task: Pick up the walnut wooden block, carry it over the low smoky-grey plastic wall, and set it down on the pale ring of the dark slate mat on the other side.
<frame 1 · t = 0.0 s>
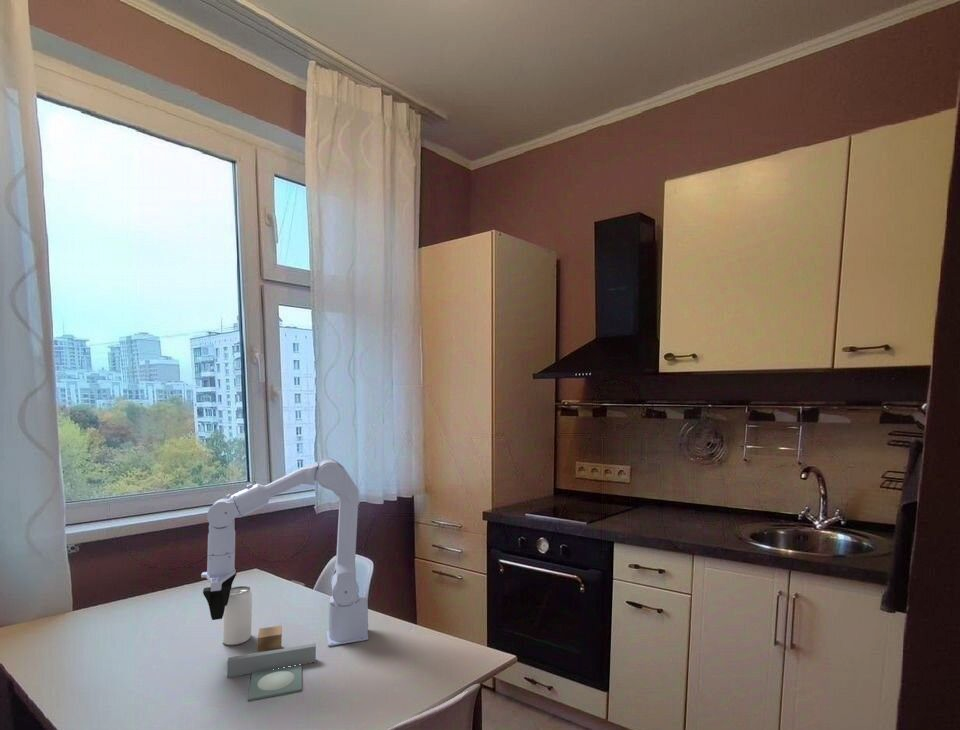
hand: (219, 612, 117), 10 cm above the table, tool pointing down, fingers open, 7 cm apart
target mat: (276, 682, 106), on the table
low wall: (272, 668, 111), on the table
can: (236, 640, 125), on the table
walnut block: (269, 653, 118), on the table
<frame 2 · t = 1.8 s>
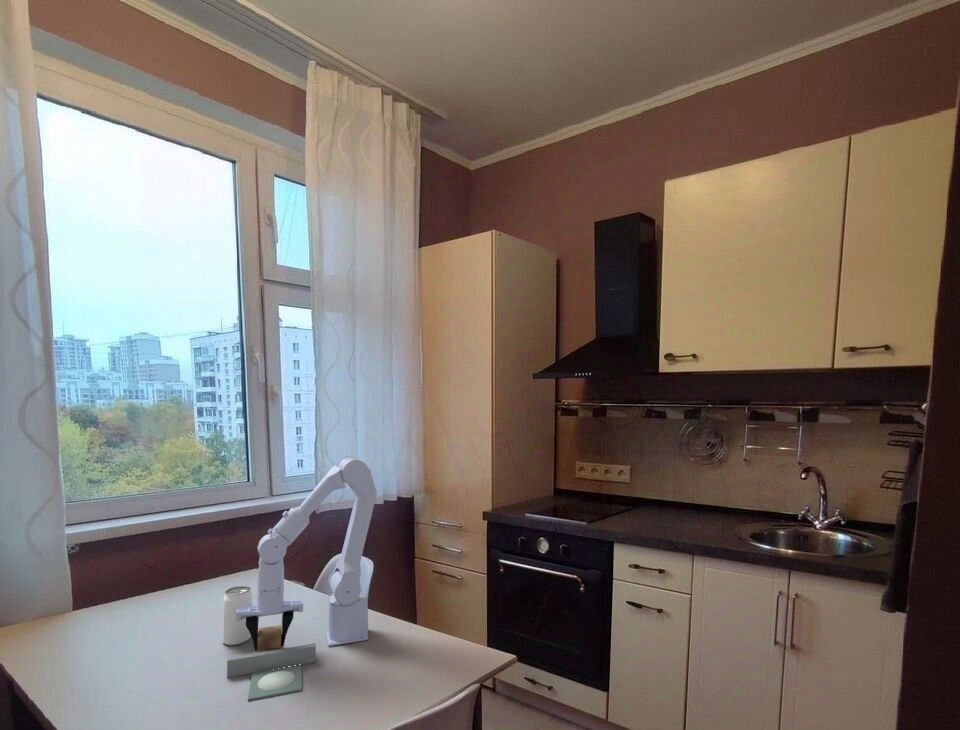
hand: (269, 646, 118), 1 cm above the table, tool pointing down, fingers closed on walnut block, 5 cm apart
walnut block: (269, 653, 118), on the table, touching gripper
everything else where it was.
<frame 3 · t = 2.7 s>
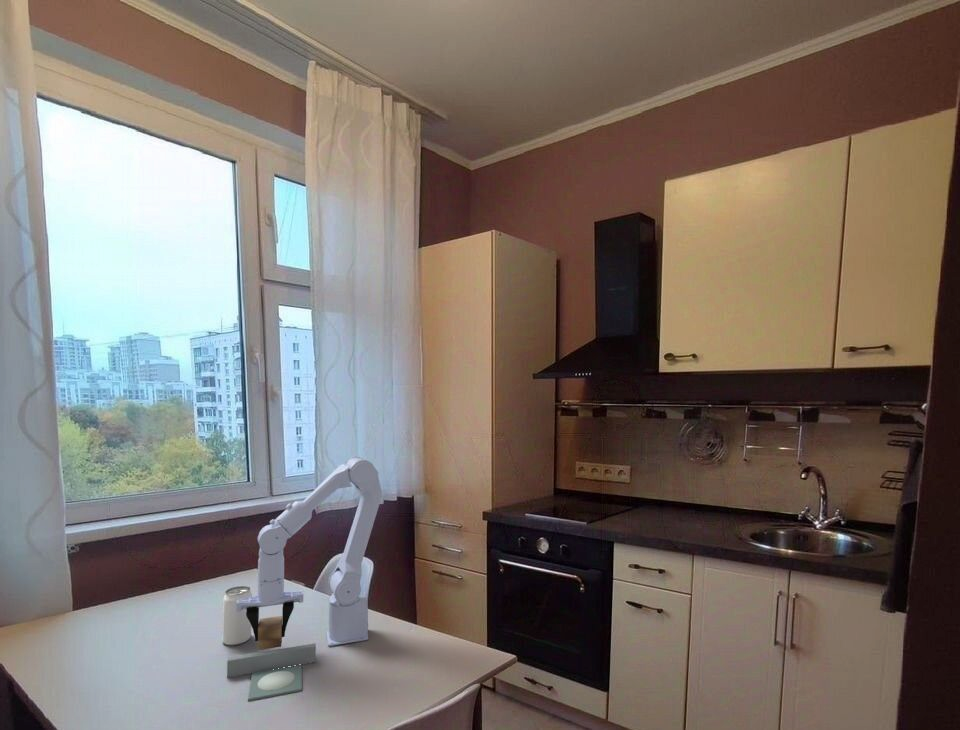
hand: (270, 637, 118), 4 cm above the table, tool pointing down, fingers closed on walnut block, 5 cm apart
walnut block: (270, 643, 118), point 2 cm above the table, touching gripper
everything else where it was.
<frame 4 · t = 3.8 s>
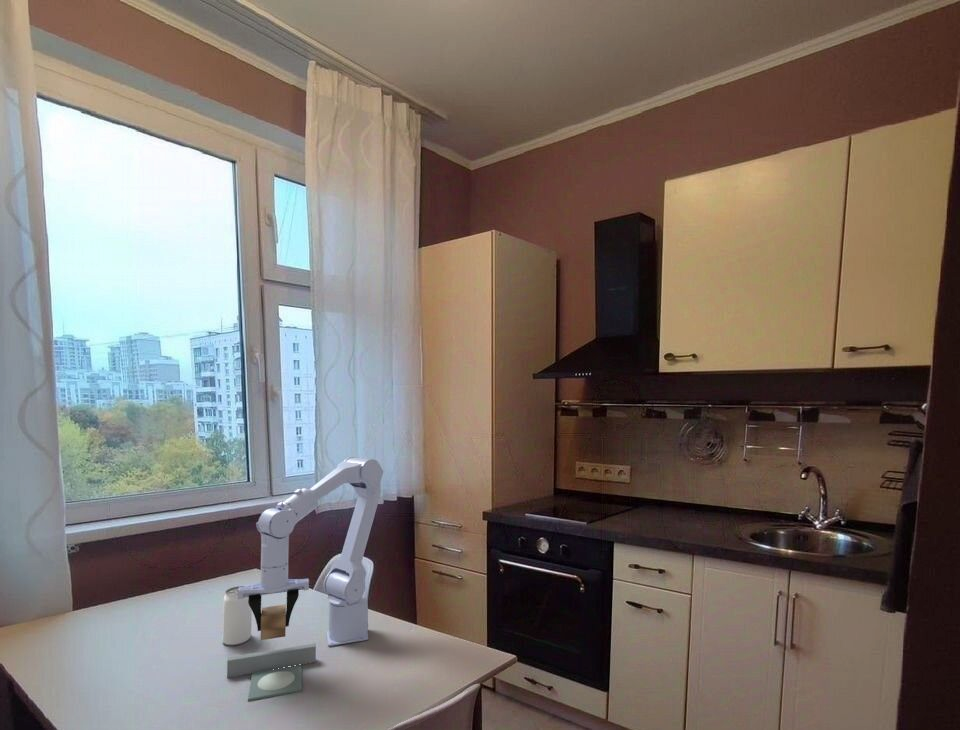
hand: (273, 626, 112), 9 cm above the table, tool pointing down, fingers closed on walnut block, 5 cm apart
walnut block: (273, 633, 112), point 7 cm above the table, touching gripper
everything else where it was.
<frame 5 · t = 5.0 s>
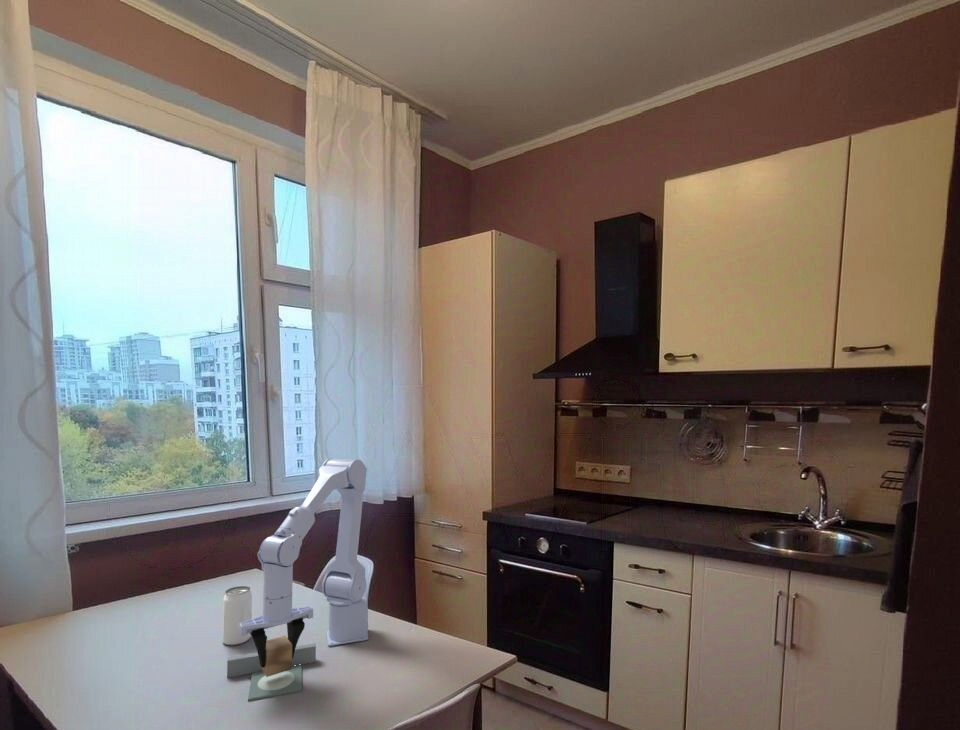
hand: (276, 661, 106), 4 cm above the table, tool pointing down, fingers closed on walnut block, 5 cm apart
walnut block: (276, 668, 106), point 3 cm above the table, touching gripper
everything else where it was.
when the fingers open (3 cm above the table, at t = 5.7 s): walnut block drops 1 cm, resting on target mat.
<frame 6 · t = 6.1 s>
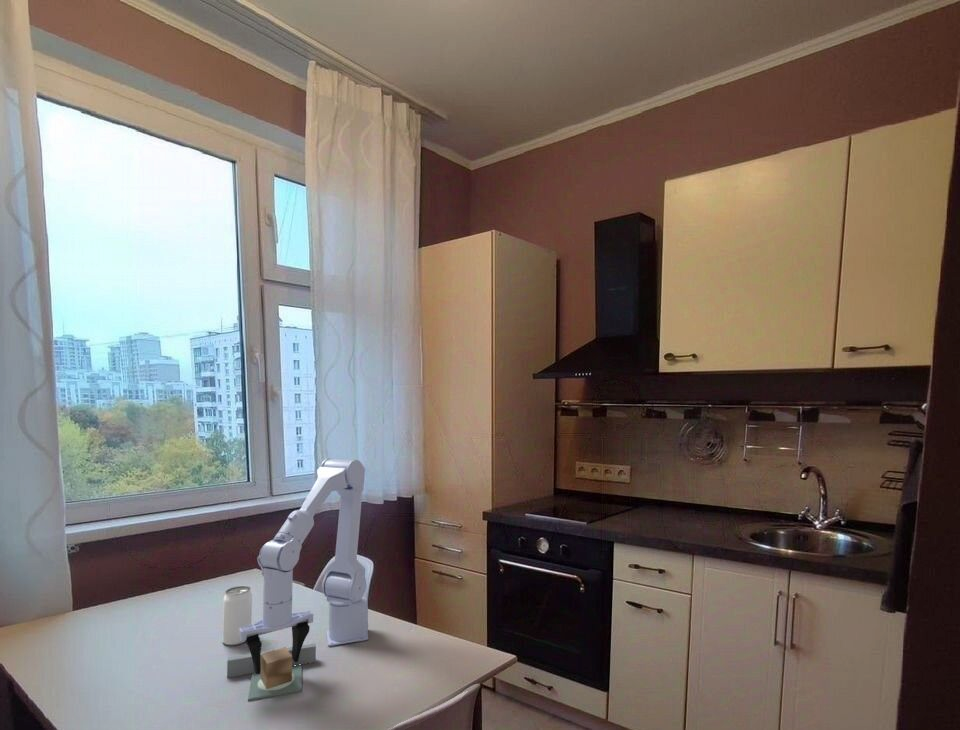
hand: (276, 665, 106), 3 cm above the table, tool pointing down, fingers open, 7 cm apart
walnut block: (276, 679, 106), resting on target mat
everything else where it was.
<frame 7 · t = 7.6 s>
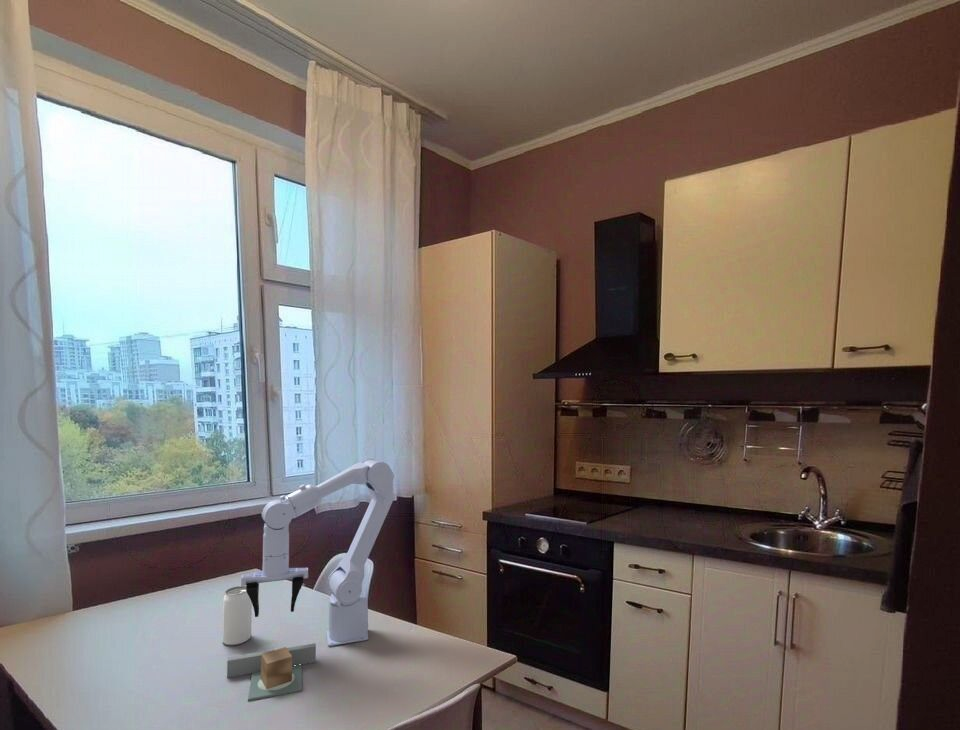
hand: (274, 612, 118), 9 cm above the table, tool pointing down, fingers open, 7 cm apart
nothing on the table moved.
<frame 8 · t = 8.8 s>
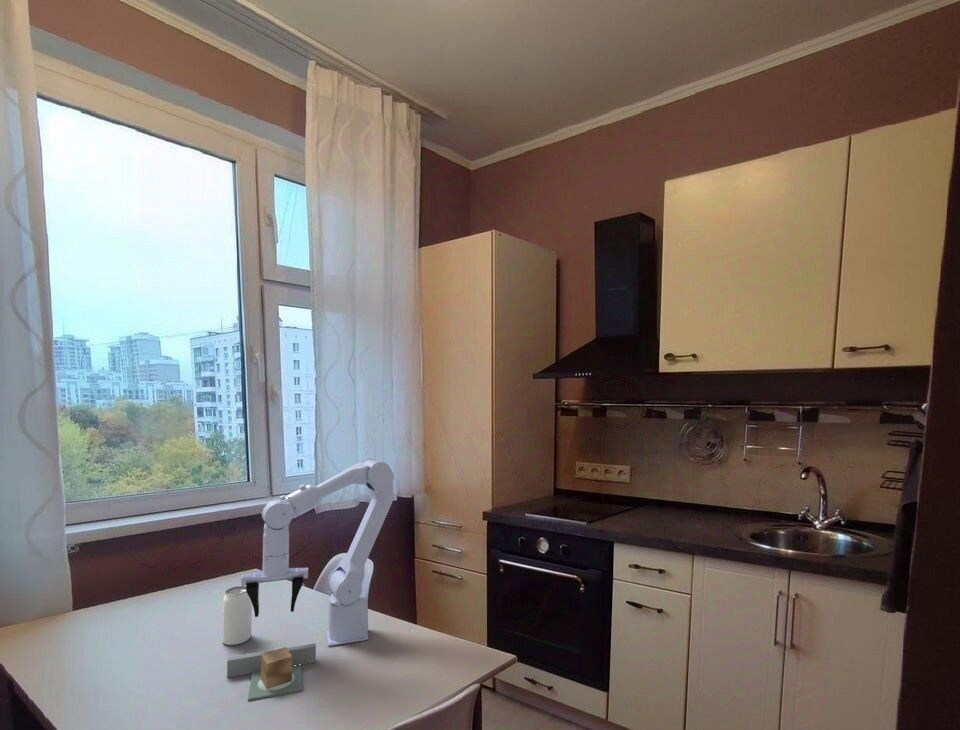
hand: (274, 612, 118), 9 cm above the table, tool pointing down, fingers open, 7 cm apart
nothing on the table moved.
at the end: walnut block 0.2 cm off-centre on the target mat, point 0.5 cm above the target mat's base; walnut block tilted 0°; the gripper is holding nothing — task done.
